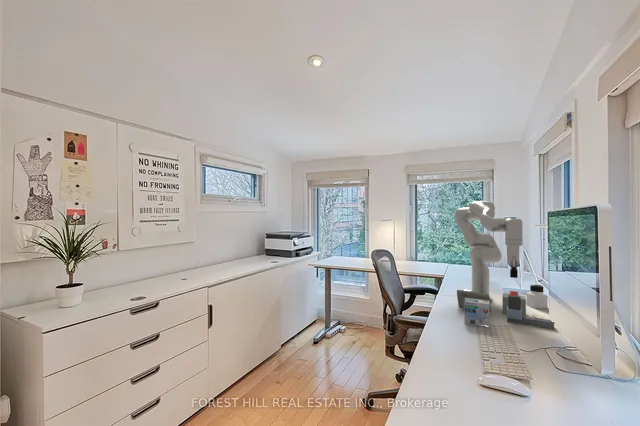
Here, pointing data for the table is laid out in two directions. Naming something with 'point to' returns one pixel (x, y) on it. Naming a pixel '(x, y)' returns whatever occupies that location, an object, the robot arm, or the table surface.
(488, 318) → the light bulb box
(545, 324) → the rail
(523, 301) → the cabinet
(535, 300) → the medicine bottle
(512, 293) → the gauge button
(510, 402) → the table surface
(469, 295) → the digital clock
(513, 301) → the carriage
